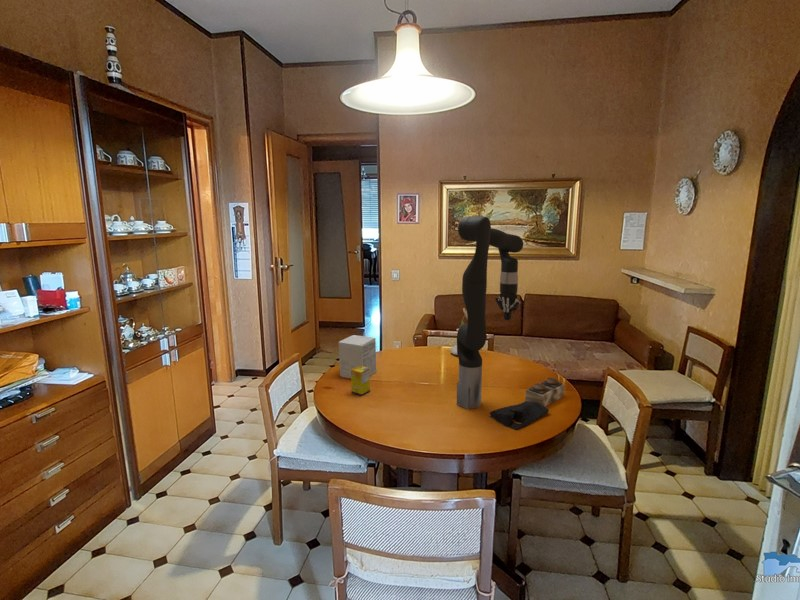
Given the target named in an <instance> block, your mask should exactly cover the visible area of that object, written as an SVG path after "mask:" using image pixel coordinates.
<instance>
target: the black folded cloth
mask: <svg viewBox="0 0 800 600" xmlns="http://www.w3.org/2000/svg"><path fill="white" fill-rule="evenodd" d="M549 411H550V409H549V408H548V407H546V406H545V407H544V406H542V405H541V404H539V403H537V402H528V401H525V400H524V401H523V402H521V403H518V404H514V405H508V406H504V407H500V408H497V409H495V410H492V411H489V418H492V419H494V421H495V420H496V422H498V423H499V424H501V425H503V427H507V428H510V429H513V430H516V431H518V430H520V429H522V428H524V427H526V426H528V425H530V424H532V423H533V422H534V421H536V420H538V419H539V418H541V417H543V416H544V415H546V414H547V413H549Z"/></svg>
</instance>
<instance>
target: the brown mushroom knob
mask: <svg viewBox="0 0 800 600" xmlns="http://www.w3.org/2000/svg"><path fill="white" fill-rule="evenodd" d="M545 381H546V383H547V384H549V385H557V384H558V382H559V380H558V379H557V378H556V377H555V378H553V377H546V378H545Z"/></svg>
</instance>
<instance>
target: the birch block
mask: <svg viewBox="0 0 800 600" xmlns="http://www.w3.org/2000/svg"><path fill="white" fill-rule="evenodd" d="M538 384H543V385H545V386H546V390H544V391H537V390H534V389H533V386H531V387H529V388H527V389H525V400H524V402H525V401H528V402H537V403H539V404H541V405H542V406H544V407H546V406H549V405H551V404H552V403H554V402H556V401H558V400H559V399H562V398H563V397H565V388H566V387H565V384H563V383H562V382H560V381H558V384H557V385H549V384H547V383H546V380H544V381H541V382H539V383H538Z"/></svg>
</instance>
